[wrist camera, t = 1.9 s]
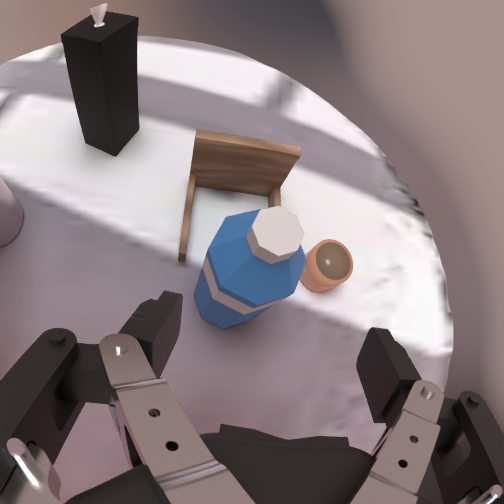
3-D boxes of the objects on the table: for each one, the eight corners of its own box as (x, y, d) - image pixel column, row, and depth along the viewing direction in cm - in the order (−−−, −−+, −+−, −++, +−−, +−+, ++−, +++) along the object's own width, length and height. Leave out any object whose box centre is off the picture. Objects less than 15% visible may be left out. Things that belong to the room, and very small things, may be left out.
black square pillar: (140, 129, 53) (140, -3, 27) (116, 157, 50) (98, 20, 24) (109, 116, 52) (98, -8, 27) (84, 143, 49) (57, 15, 24)
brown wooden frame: (273, 271, 49) (305, 241, 38) (178, 260, 46) (180, 225, 35) (273, 191, 55) (300, 147, 43) (189, 178, 52) (196, 129, 40)
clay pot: (319, 301, 50) (337, 292, 44) (289, 272, 50) (304, 259, 45) (341, 272, 53) (360, 261, 47) (313, 244, 53) (329, 230, 47)
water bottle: (256, 271, 49) (329, 188, 26) (254, 331, 45) (336, 295, 23) (196, 264, 47) (222, 169, 24) (191, 326, 43) (211, 284, 21)
